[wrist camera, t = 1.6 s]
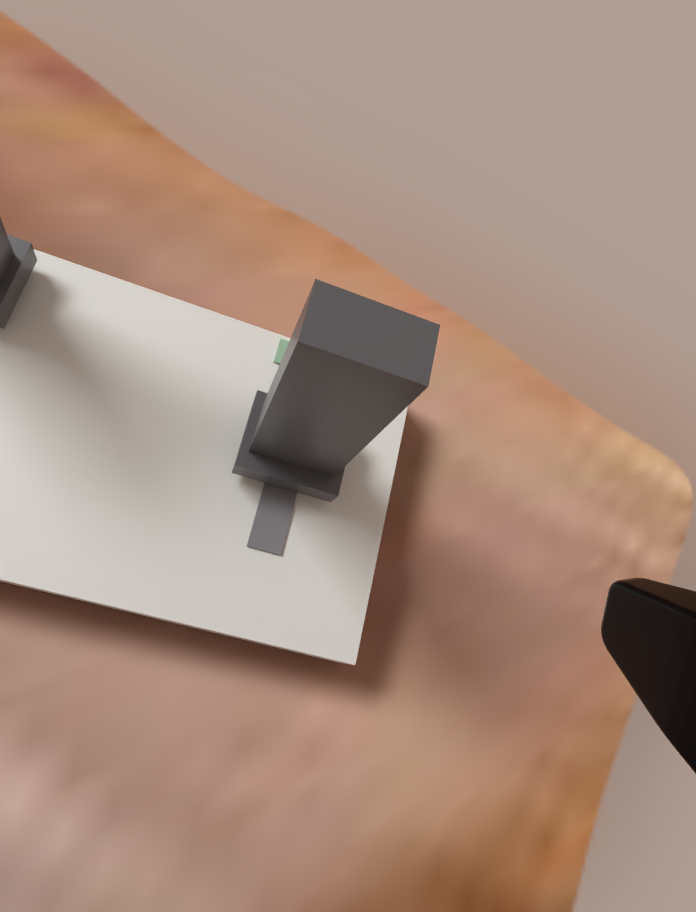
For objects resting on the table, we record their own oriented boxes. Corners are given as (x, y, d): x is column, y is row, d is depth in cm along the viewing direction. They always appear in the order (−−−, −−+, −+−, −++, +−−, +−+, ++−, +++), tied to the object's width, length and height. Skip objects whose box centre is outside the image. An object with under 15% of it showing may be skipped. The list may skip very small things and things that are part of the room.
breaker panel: (339, 663, 22) (356, 665, 20) (-281, 513, 18) (-333, 498, 16) (395, 399, 26) (414, 379, 24) (-109, 228, 22) (-134, 189, 20)
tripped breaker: (330, 502, 21) (436, 414, 13) (231, 472, 21) (276, 360, 12) (348, 431, 22) (455, 307, 14) (253, 400, 22) (309, 252, 13)
